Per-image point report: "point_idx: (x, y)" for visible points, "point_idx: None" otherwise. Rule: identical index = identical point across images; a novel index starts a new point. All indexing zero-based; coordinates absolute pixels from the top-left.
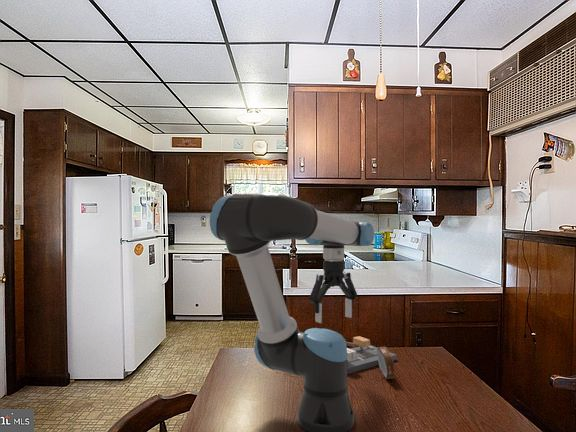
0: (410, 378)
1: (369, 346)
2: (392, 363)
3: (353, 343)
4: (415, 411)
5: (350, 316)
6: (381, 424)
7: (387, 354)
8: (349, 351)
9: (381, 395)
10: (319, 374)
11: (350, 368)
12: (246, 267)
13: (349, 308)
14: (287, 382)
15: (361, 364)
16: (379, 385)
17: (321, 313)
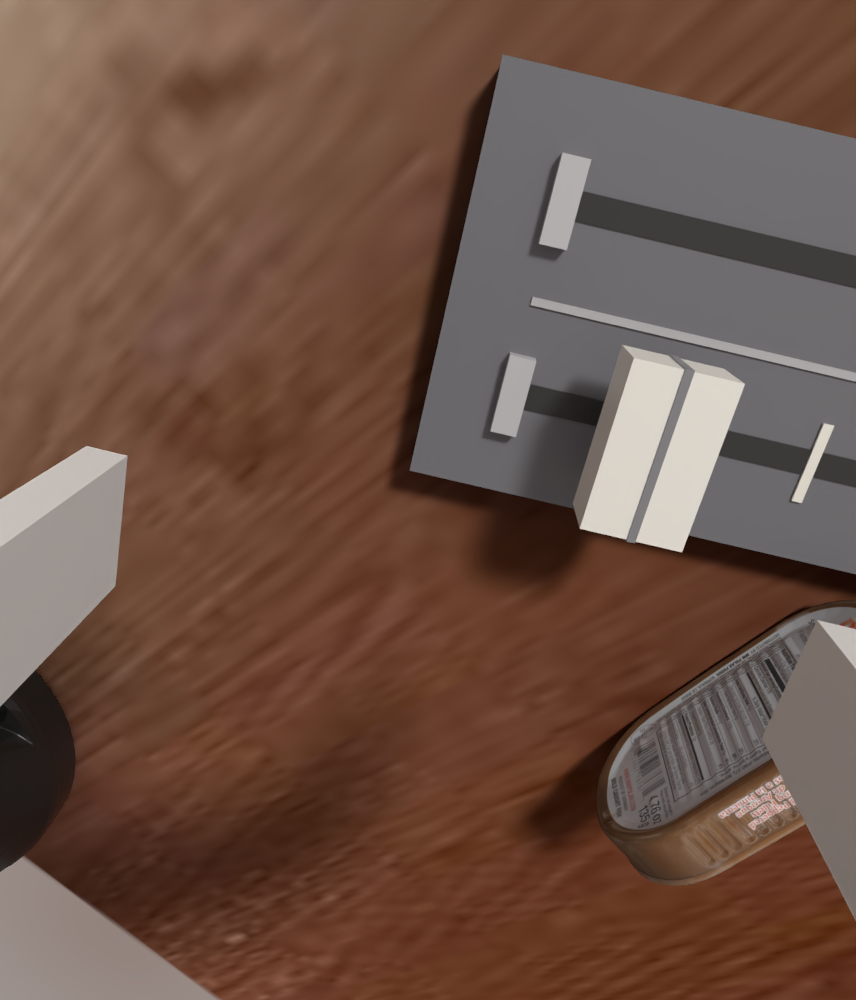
0: None
1: None
2: (640, 870)
3: None
4: (361, 968)
5: (781, 757)
6: (132, 913)
7: (703, 853)
8: (637, 507)
9: (391, 798)
10: None
11: (561, 503)
12: None
13: (840, 861)
14: (35, 229)
15: (690, 534)
16: (510, 734)
17: (17, 680)
